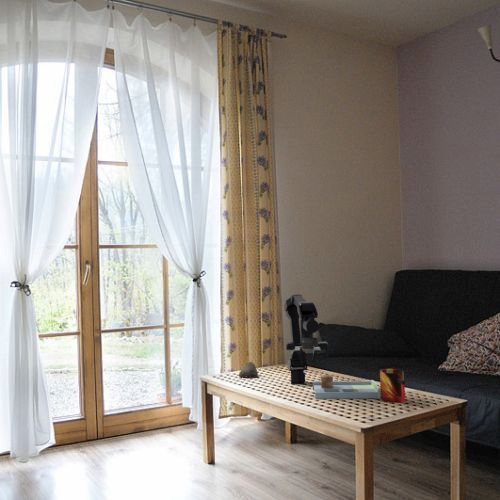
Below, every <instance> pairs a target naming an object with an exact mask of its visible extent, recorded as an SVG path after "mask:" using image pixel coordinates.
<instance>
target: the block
mask: <svg viewBox="0 0 500 500" xmlns="http://www.w3.org/2000/svg"><path fill="white" fill-rule="evenodd" d="M333 381H334V377H333V374H321V375H320V382H321V388H333Z"/></svg>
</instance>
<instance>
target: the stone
mask: <svg viewBox="0 0 500 500" xmlns="http://www.w3.org/2000/svg"><path fill="white" fill-rule="evenodd" d="M258 376H259V373H258V369H257V367H256V365H255V363H254V362H253V361H249V362H247V363H246V364H244V365H243V367H242V368H241V370H240V371H239V373H238V377H239V378H240V377H243V378H249V377H255V378H258Z"/></svg>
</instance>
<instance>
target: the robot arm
mask: <svg viewBox="0 0 500 500" xmlns="http://www.w3.org/2000/svg"><path fill="white" fill-rule="evenodd" d="M283 308H284V312H285V316H286V317H287V318H288V320H289V327H290V337H291V338H290V339H291V341H288V342H287V341H286V343H285V345H286V346H285V349H286V351H291V352H290V354H289V358H288V361H287V371H289V372H290V384H291V385H305V383H306V371H307V370H308V363H309V360H308V357H307V354H306V352H305V351H304V350H312V361H311V363H312V366H314V365H315V361H316V357H317V356H318V353H319V352H321V351H323V350H326V351H327V350H329V343H328V342H327V341H318V337H314V334H315V333H317V332H318V330H319V329H320V325H319V322H318V321H317V320H316V319H318V316H319V313H318V310H317V307H316V305H315V304H314V302H312V301H307V300H306V298H304V297H303V296H302V294H298V293H297V294H291V295H290V297H289V298H287V299H286V300H285V301H284V305H283Z"/></svg>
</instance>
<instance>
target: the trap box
mask: <svg viewBox="0 0 500 500" xmlns="http://www.w3.org/2000/svg"><path fill="white" fill-rule="evenodd" d="M312 390H313V391H314V394H315V395H314V396H315V397H314V398H315V399H325V400H326V399H329V400H330V399H331V400H332V399H333V400H334V399H381V395H380V386H379V385H378V384H377V383H376V381H375V380H374V379H371V380H357V381H356V380H352V381H351V380H349V381H348V380H347V381H346V380H344V381H342V380H338V381H336V380H335V381H334V380H333V388H321V381H312Z"/></svg>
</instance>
